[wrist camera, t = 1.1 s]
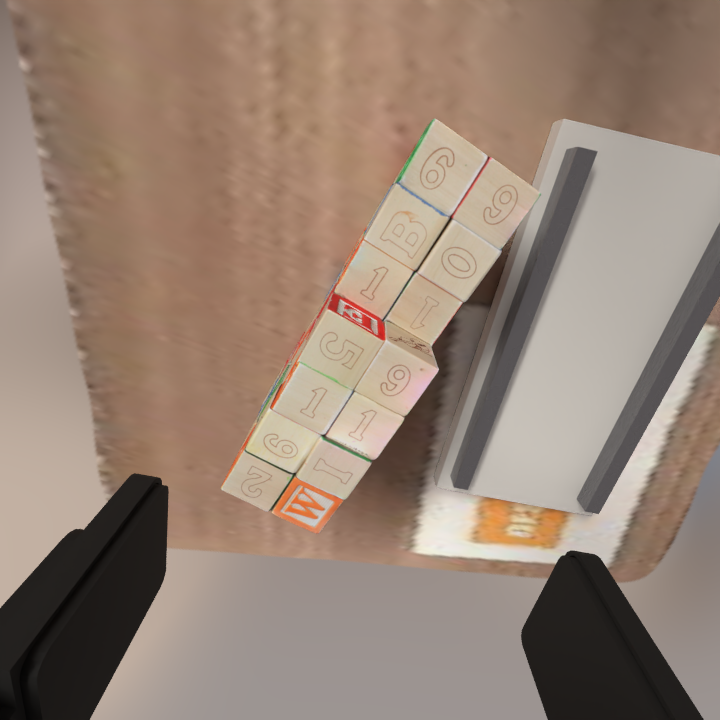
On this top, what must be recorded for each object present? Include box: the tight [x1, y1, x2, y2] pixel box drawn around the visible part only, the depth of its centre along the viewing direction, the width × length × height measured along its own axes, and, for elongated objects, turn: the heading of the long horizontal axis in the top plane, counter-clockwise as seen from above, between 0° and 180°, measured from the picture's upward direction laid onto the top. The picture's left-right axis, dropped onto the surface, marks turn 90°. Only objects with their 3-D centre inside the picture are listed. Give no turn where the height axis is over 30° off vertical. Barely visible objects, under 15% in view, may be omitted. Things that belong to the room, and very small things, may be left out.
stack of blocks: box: [221, 119, 541, 534], centre depth 25 cm, size 21×6×12 cm, turn 149°
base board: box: [434, 119, 720, 516], centre depth 30 cm, size 28×14×3 cm, turn 168°
